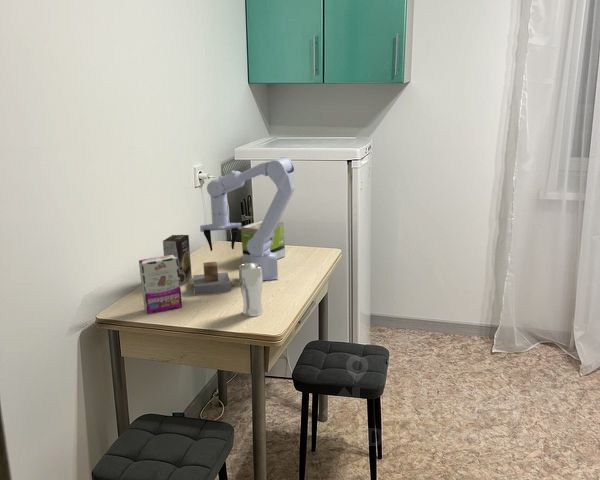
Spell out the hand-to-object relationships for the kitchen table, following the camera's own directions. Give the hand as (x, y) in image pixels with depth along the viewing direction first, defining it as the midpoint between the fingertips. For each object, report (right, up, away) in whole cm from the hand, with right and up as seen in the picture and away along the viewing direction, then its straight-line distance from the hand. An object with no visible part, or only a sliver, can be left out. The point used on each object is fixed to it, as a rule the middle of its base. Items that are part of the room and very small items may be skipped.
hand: (222, 249), depth 214 cm
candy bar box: (-15, -18, -30) cm, 38 cm away
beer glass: (+14, -19, -35) cm, 43 cm away
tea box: (+14, -5, +19) cm, 24 cm away
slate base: (-2, -13, -12) cm, 18 cm away
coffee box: (-15, -11, -4) cm, 19 cm away
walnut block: (-2, -10, -13) cm, 17 cm away
